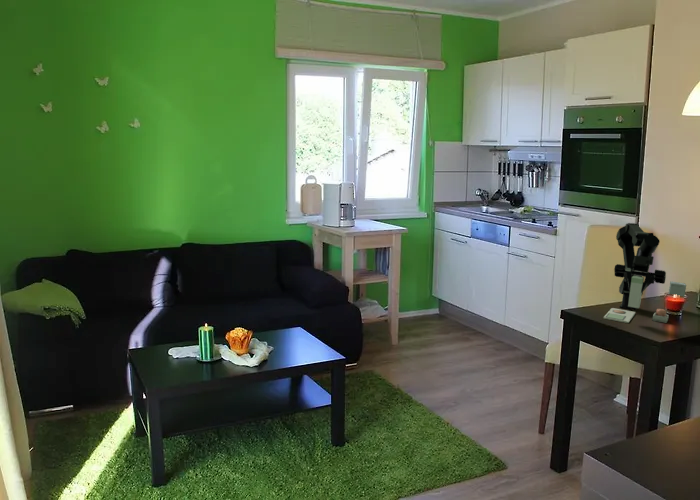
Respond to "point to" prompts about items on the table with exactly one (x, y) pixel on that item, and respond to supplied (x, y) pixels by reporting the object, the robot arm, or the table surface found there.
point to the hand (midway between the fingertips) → (635, 291)
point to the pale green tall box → (635, 291)
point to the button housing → (660, 318)
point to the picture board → (619, 315)
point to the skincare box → (677, 288)
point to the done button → (661, 312)
